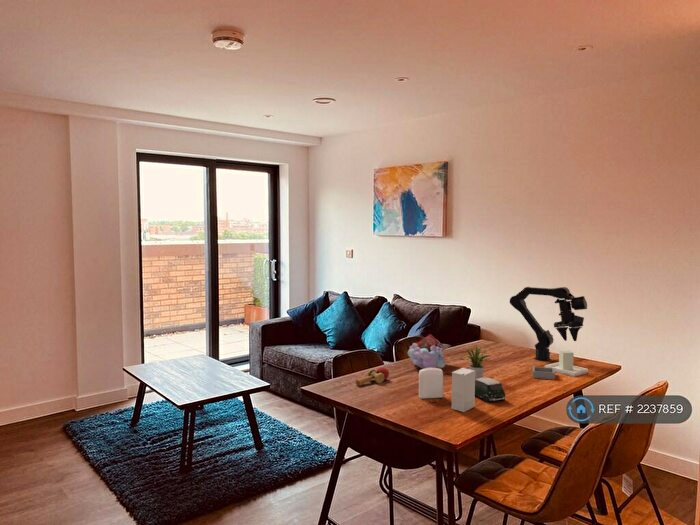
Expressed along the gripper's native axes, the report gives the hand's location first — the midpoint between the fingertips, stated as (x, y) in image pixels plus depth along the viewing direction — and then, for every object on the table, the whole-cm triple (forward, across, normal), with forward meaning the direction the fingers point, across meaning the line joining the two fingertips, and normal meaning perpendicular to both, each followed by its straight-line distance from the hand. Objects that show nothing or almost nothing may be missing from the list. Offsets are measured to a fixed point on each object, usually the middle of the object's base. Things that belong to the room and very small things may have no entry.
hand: (570, 340), depth 264 cm
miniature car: (+16, -43, +66) cm, 81 cm away
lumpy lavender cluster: (+6, +6, +76) cm, 77 cm away
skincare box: (+17, -56, +80) cm, 99 cm away
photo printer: (+13, -42, +89) cm, 99 cm away
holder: (+14, -17, +26) cm, 34 cm away
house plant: (+12, -20, +61) cm, 65 cm away
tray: (+14, -10, +10) cm, 20 cm away
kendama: (+8, -18, +109) cm, 111 cm away
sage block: (+13, -10, +10) cm, 20 cm away
